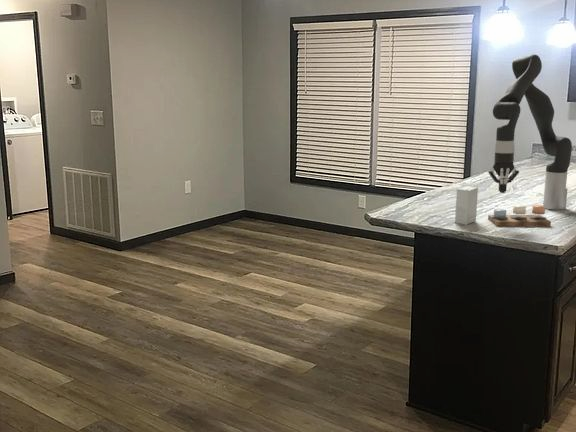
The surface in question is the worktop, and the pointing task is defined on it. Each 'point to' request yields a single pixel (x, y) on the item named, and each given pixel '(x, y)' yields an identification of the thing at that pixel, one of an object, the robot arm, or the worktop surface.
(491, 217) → the board
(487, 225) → the worktop surface
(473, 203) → the skincare box
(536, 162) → the worktop surface
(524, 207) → the button cream
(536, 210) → the button terracotta
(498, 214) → the button slate
